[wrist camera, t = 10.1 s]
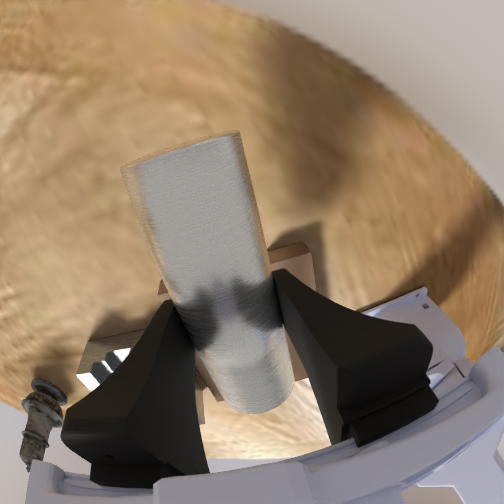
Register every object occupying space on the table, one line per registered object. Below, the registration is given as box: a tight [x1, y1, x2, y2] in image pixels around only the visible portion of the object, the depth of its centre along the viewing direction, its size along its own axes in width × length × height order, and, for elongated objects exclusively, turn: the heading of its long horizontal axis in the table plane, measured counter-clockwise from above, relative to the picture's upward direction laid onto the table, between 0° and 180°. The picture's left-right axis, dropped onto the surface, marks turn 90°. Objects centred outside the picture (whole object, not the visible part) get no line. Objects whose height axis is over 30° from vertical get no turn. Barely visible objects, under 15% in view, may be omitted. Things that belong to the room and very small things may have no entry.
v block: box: [76, 329, 205, 425], centre depth 23 cm, size 8×10×4 cm
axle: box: [120, 130, 294, 414], centre depth 11 cm, size 12×4×4 cm, turn 12°
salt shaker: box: [20, 379, 67, 472], centre depth 19 cm, size 6×6×12 cm
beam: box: [158, 242, 316, 402], centre depth 23 cm, size 11×14×2 cm
